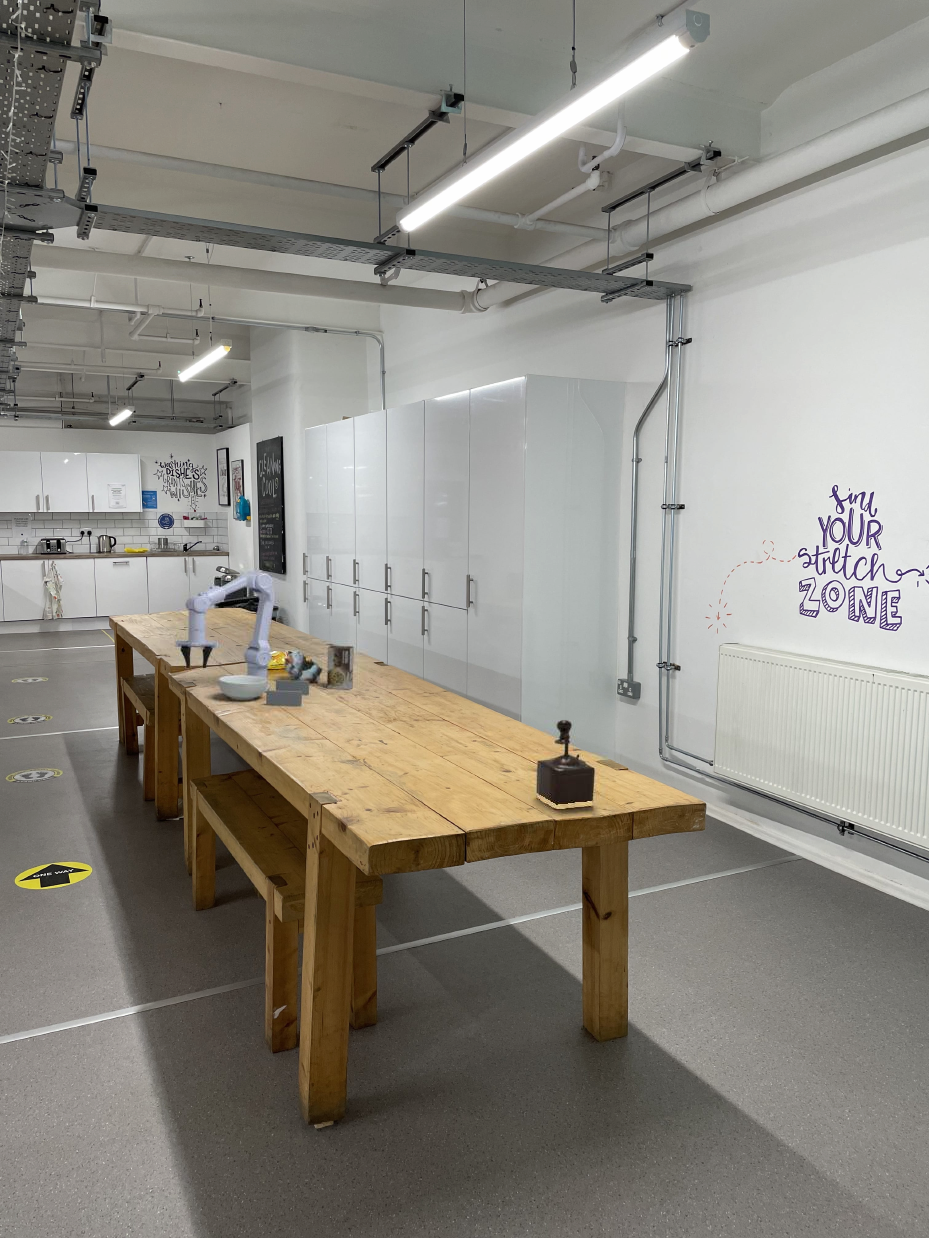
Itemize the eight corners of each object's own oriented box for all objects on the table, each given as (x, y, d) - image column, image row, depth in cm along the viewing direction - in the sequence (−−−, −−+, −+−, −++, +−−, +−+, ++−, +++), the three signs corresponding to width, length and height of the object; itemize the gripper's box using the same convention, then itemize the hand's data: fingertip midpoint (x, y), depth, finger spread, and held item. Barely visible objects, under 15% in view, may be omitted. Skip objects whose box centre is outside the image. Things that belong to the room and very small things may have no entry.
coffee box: (353, 687, 345) (354, 646, 343) (349, 690, 338) (350, 648, 337) (330, 685, 345) (331, 644, 344) (326, 688, 339) (327, 647, 337)
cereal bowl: (254, 704, 304) (254, 684, 304) (210, 700, 308) (210, 680, 307) (274, 695, 321) (275, 676, 320) (232, 692, 324) (232, 673, 323)
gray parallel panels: (276, 693, 325) (276, 679, 325) (308, 694, 326) (309, 681, 326) (266, 705, 304) (266, 690, 304) (301, 706, 305) (301, 692, 304)
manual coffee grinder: (596, 806, 208) (601, 732, 207) (555, 810, 204) (559, 734, 202) (563, 787, 223) (568, 717, 221) (524, 791, 218) (528, 719, 216)
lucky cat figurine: (316, 684, 346) (300, 654, 341) (290, 694, 349) (273, 664, 345) (327, 668, 359) (311, 638, 355) (302, 677, 363) (286, 648, 358)
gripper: (172, 630, 307) (172, 668, 308) (215, 631, 307) (214, 670, 309) (178, 627, 314) (178, 665, 315) (219, 629, 314) (219, 666, 316)
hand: (196, 667), depth 312 cm, fingers open, 5 cm apart
